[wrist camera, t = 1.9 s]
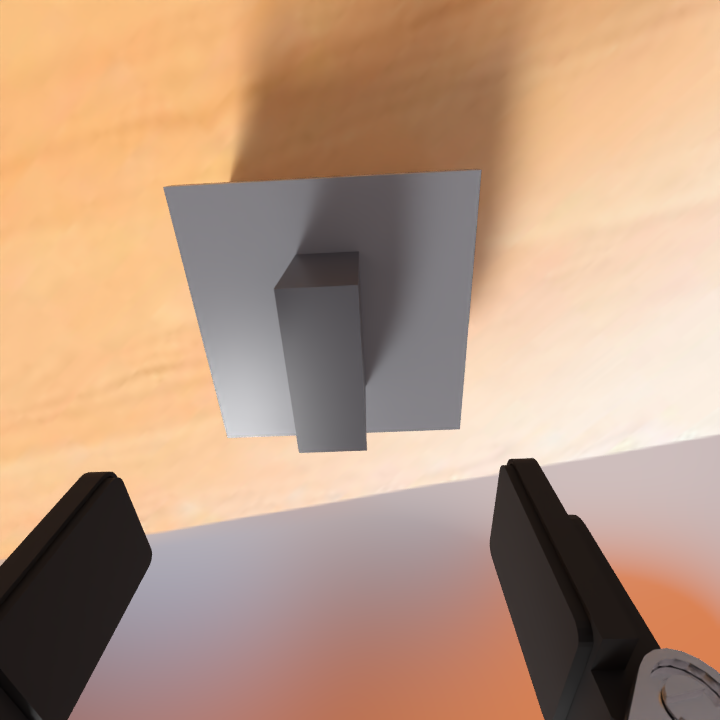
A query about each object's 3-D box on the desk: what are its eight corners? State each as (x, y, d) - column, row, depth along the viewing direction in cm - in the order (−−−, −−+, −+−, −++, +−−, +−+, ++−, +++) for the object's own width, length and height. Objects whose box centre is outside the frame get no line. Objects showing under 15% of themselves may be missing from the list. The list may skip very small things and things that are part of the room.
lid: (173, 185, 17) (89, 200, 12) (475, 168, 17) (527, 176, 12) (232, 426, 23) (194, 508, 18) (455, 418, 23) (484, 498, 18)
